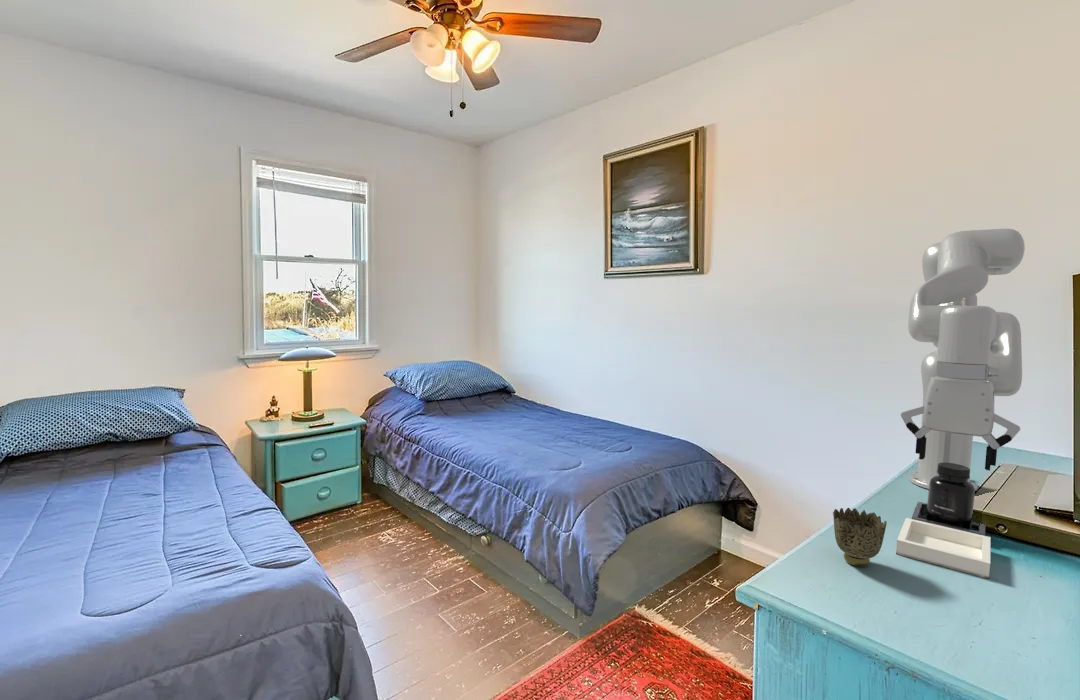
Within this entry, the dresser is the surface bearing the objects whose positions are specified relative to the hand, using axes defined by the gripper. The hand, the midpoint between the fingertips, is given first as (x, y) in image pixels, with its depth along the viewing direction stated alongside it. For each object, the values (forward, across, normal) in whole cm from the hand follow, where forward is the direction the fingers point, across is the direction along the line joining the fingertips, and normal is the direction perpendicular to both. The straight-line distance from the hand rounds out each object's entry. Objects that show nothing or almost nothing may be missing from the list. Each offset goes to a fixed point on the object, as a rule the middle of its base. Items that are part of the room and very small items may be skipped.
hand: (953, 463), depth 97 cm
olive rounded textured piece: (+14, +11, +26) cm, 32 cm away
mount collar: (+13, 0, -1) cm, 13 cm away
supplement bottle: (+13, 0, -1) cm, 13 cm away
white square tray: (+13, 0, +12) cm, 18 cm away
